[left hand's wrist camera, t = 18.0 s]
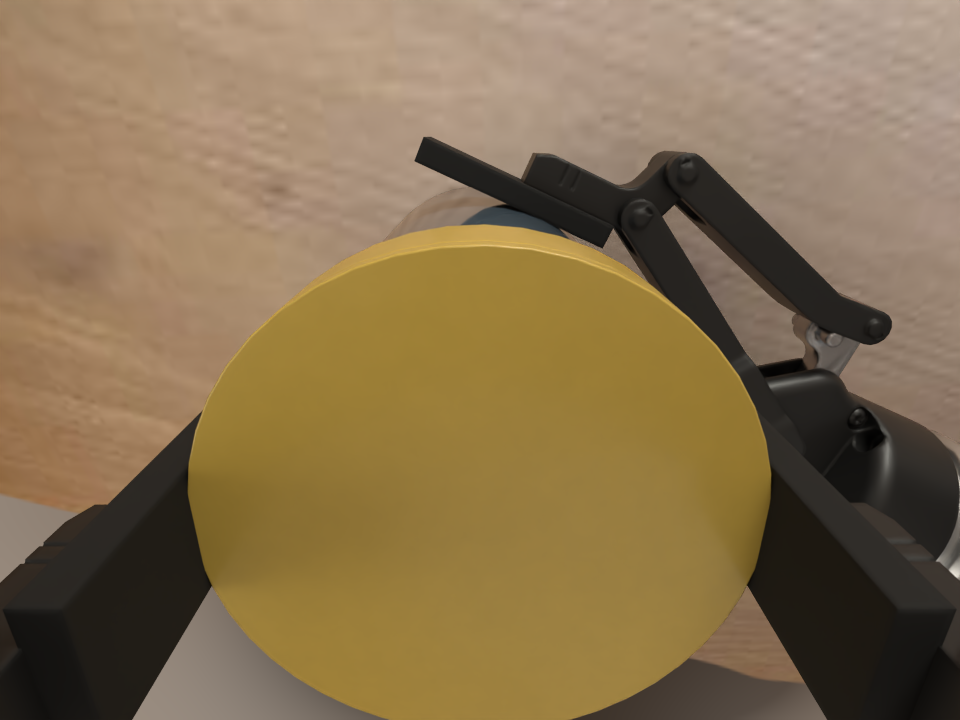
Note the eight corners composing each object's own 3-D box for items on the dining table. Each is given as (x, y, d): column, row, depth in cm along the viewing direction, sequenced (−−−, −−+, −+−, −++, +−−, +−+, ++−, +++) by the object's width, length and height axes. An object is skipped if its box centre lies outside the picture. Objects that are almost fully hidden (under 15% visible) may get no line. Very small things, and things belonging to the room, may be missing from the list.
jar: (336, 251, 26) (125, 421, 11) (525, 144, 24) (605, 158, 9) (441, 417, 29) (398, 736, 14) (615, 332, 28) (790, 586, 12)
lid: (796, 270, 11) (868, 299, 9) (652, 671, 15) (679, 755, 13) (232, 181, 10) (173, 193, 8) (235, 624, 14) (195, 704, 12)
